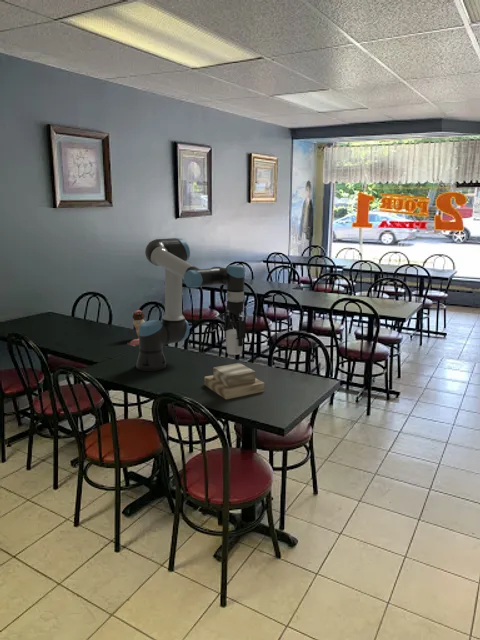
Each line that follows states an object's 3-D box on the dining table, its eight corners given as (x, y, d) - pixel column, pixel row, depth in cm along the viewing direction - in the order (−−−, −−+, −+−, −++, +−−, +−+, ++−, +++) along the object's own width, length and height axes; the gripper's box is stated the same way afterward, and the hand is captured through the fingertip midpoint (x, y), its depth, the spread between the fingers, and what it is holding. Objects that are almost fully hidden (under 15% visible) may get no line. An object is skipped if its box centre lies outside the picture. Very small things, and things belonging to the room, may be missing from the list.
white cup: (244, 351, 228) (245, 329, 226) (240, 356, 221) (240, 334, 219) (228, 349, 230) (228, 328, 228) (223, 354, 223) (223, 332, 221)
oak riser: (204, 384, 233) (204, 366, 231) (241, 377, 243) (241, 360, 241) (225, 399, 216) (226, 379, 214) (264, 391, 226) (264, 372, 224)
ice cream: (141, 336, 313) (140, 308, 309) (156, 342, 301) (156, 312, 297) (118, 340, 302) (117, 311, 298) (132, 346, 290) (131, 316, 286)
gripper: (216, 297, 227) (216, 345, 232) (239, 305, 210) (238, 357, 215) (230, 295, 231) (230, 343, 236) (255, 303, 213) (253, 355, 219)
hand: (234, 350), depth 225 cm, fingers closed on white cup, 8 cm apart
